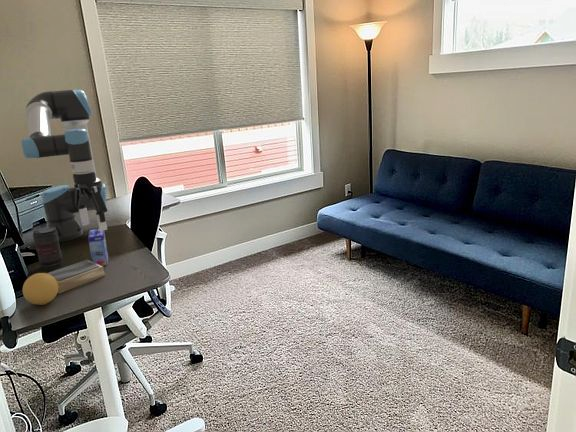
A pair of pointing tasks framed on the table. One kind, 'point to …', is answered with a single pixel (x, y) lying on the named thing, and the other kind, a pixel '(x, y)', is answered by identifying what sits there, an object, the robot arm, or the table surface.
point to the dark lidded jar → (48, 247)
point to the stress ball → (40, 288)
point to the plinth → (77, 274)
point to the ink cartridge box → (98, 247)
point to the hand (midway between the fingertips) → (94, 227)
